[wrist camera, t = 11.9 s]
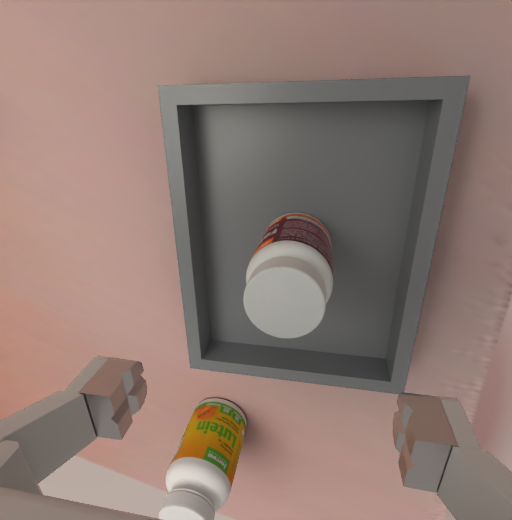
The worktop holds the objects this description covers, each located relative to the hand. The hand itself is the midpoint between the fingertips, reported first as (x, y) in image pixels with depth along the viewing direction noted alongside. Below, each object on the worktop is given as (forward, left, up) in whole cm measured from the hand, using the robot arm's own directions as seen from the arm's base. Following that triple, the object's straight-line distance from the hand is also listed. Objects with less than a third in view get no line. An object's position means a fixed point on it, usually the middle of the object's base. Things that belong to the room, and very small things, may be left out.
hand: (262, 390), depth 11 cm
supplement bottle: (+19, -7, -16) cm, 26 cm away
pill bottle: (0, 0, -15) cm, 15 cm away
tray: (0, 0, -15) cm, 15 cm away
